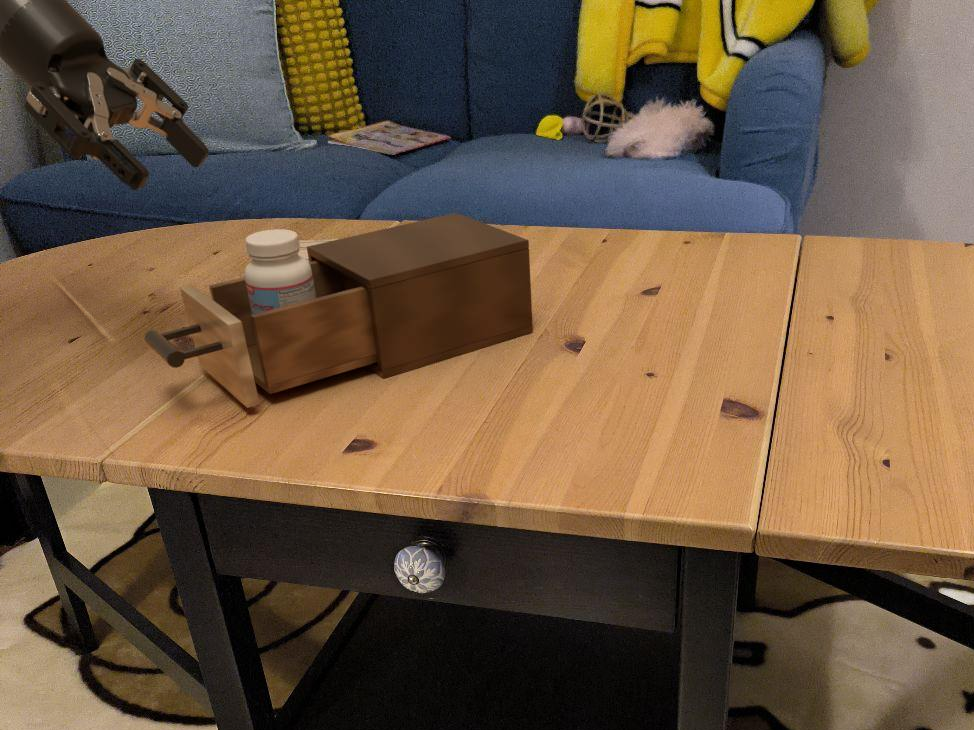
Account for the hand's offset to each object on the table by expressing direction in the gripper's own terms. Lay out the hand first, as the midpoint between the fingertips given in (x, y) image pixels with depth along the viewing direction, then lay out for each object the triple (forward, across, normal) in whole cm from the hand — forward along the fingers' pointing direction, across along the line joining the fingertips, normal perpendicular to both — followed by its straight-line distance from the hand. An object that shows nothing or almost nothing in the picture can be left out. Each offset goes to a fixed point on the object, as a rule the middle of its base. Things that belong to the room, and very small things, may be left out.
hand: (174, 171), depth 86 cm
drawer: (+18, -1, +7) cm, 19 cm away
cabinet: (+25, +12, +1) cm, 28 cm away
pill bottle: (+18, 0, +6) cm, 19 cm away
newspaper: (+13, +34, +13) cm, 39 cm away
